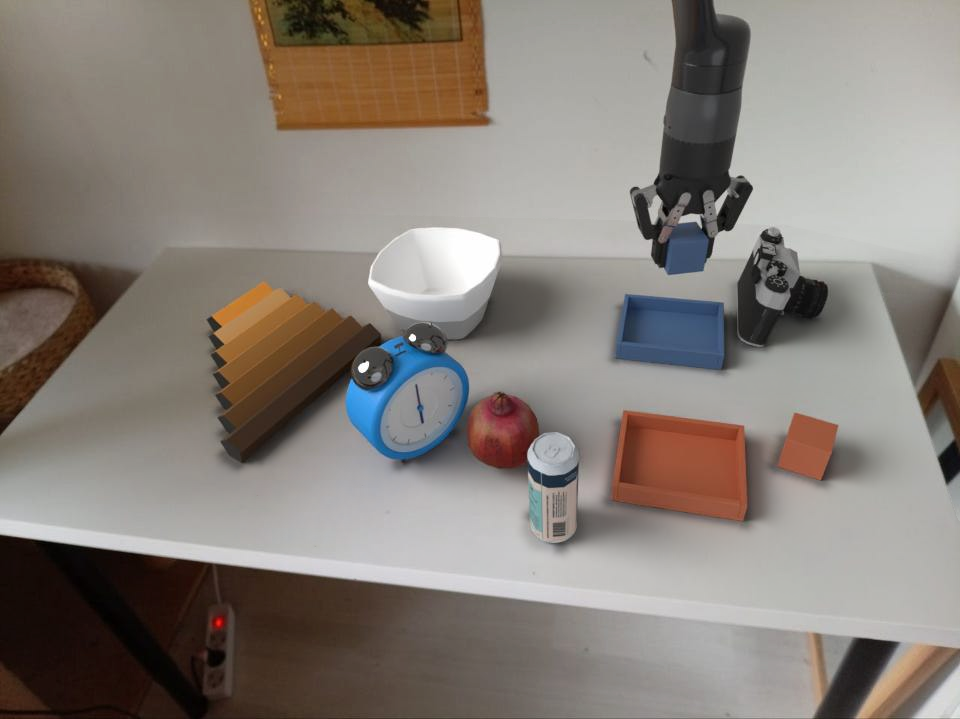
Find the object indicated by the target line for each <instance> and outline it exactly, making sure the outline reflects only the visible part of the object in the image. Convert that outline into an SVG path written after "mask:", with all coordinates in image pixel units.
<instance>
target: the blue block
mask: <svg viewBox="0 0 960 719" xmlns="http://www.w3.org/2000/svg"><path fill="white" fill-rule="evenodd" d="M667 241H668V242H669V244H668V252H667V259H666V266H665V268H663V269H664V271H665V273H666V274H667V276H672V275H673V276H674V275H682V274H691V273H701V272H702V273H703V272H704V270H705V266H706V263H705V260H706V254H707V248H708V243H709V239H708V238H707V236H706V235H705V233H704V232H703V230H702V227H701V225H699V223H698V222H697V221H689V222H680V223H679V222H678V224H677V226H676V227H674V228H673V230H672V232H671V234H670V236H669V238H668V240H667Z"/></svg>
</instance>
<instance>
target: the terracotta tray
mask: <svg viewBox="0 0 960 719" xmlns="http://www.w3.org/2000/svg"><path fill="white" fill-rule="evenodd" d="M745 432H746V431H745V425H743V424H734V423H727V422H720V421H712V420H704V419H697V418H688V417H681V416H672V415H665V414H657V413H650V412H649V413H648V412H641V411H634V410H626V409H624V410H622V417H621V424H620V431H619V436H618V438H619V439H618V444H617V451H616V459H615V465H614V466H615V467H614V472H613V480H612V488H611V501H614V502H621V503H627V504H633V505H639V506H645V507H651V508H657V509H662V510H663V509H664V510H670V511H676V512H682V513H689V514H694V515H701V516H708V517H713V518H721V519H727V520H733V521H739V522H744V520H745V516H746V513H747V510H748V507H749V506H748V487H747V486H748V485H747V484H748V483H747V461H746V460H747V459H746V436H745Z"/></svg>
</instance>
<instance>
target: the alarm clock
mask: <svg viewBox="0 0 960 719" xmlns="http://www.w3.org/2000/svg"><path fill="white" fill-rule="evenodd" d="M448 341H449V339H447V337H446V335H445V333H444V332H443V330H441V329H440V328H439V327H438V326H436V325H434V324H432V323H431V322H430V323H427V322H419V323H415V324H412V325H411V326H409V327H408V328H407V329H406V331H404V333H403V335H402V336H399V337H395V338H392V339H390V340H388V341H385V342H384V343H382V344H380V345H379V346H378V347H369V348H366V349H364V350H363V351H361V352H360V353H359V354H358V355H357V356H356V357H355V359H354V361H353V363H352V366H351V370H350V376H351V379H350V381H349V384H348V387H347V391H346V396H345V410H346V414H347V418H348V419H349V421H350V423H351V425H352V426H353V427H354V428H355V429H356V430H357V431H358V432H359V433H360V434H361V435H362V436H363V437H364V438H365V439H366V441H367V442H369V444H370V445H371V446H372V447H373V448H374V449H375V450H376V451H377V452H378V453H379V454H381V455H382V456H384V457H385V458H389V459H392V460H400V464H405V461H406V460H408V459H413V458H416V457H419V456H421V455H424V454H426V453H427V452H429V451H431V450H432V449H433V448H435V447H437V446H438V445H440V443H441V442H443V441H444V440H445V439H446V438H447V437H448V436H449V435H451V434H452V431H453V430H454V429H455V427H456V426H457V424H458V423H459V421H460V420H461V418H462V416H463V415H464V412H465V409H466V407H467V404H468V400H469V395H470V381H469V376H468V374H467V371H466V370H465V368H464V367H463V365H462V364H461V363H460V362H459V361H458V360H456V359H455V358H454V357H452V356H451V355H450V354H449V353H447V352H446V351H447V349H448V345H449V342H448Z"/></svg>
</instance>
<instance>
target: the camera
mask: <svg viewBox="0 0 960 719" xmlns="http://www.w3.org/2000/svg"><path fill="white" fill-rule="evenodd" d="M828 296H829V286H828V285H827V283H825V282H824V281H823V280H821V281H819V280H818V279H811V278H808V277H804V276H803V275H802V274H801V270H800V263H799V256H798V252H797V251H795V250H794V249H792V248H790V247H789V248H787V247H786V246H785V241H784V237H783V235H782V233H781V230H780V229H779V228H778V227H774V226H771V227H769V228H766V229H764V230H762V231H761V233H760V234H759V235H758V238H757V239H756V242H755V244H754V246H753V248H752V251H751V253H750V255H749V258H748V260H747V262H746V264H745V266H744V268H743V271H742V273H741V274H740V277H739V279H738V281H737V282H736V324H737V325H736V327H737V333H736V334H737V337H738V338H739V340H740V341H742V342H743V343H745V344H746V345H750V346H754V347H758V348H763V347H764V346H765V344H766V342H767V341H768V339H769V337H770V335H771V333H772V331H773V330H774V327H775V326H776V324H777V322H778V320H779V318H780V317H781V315H783V316H784V314H788V315H792V314H794V315H798V316H800V317H802V318H809V319H813V318H817V317H819V316H820V315H821V314H822V312H823V310H824V308H825V305H826V303H827V300H828Z"/></svg>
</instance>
